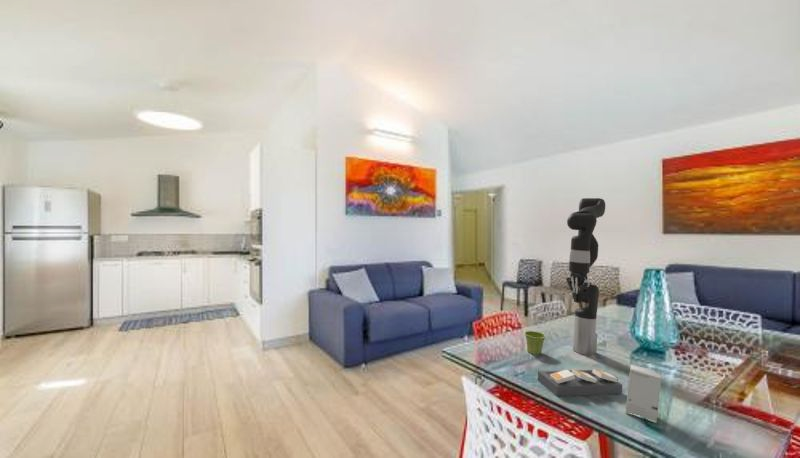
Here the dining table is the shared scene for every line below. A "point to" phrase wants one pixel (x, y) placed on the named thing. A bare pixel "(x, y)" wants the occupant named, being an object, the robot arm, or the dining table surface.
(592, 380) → the rocker
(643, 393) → the skincare box
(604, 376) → the rocker
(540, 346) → the plant pot
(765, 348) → the dining table surface
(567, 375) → the rocker
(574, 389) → the power strip
